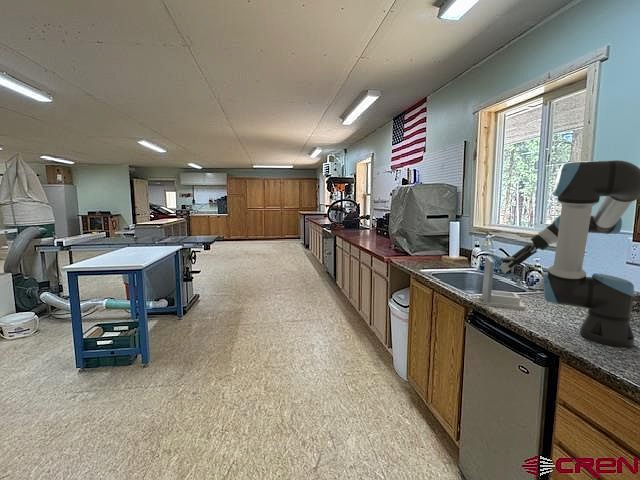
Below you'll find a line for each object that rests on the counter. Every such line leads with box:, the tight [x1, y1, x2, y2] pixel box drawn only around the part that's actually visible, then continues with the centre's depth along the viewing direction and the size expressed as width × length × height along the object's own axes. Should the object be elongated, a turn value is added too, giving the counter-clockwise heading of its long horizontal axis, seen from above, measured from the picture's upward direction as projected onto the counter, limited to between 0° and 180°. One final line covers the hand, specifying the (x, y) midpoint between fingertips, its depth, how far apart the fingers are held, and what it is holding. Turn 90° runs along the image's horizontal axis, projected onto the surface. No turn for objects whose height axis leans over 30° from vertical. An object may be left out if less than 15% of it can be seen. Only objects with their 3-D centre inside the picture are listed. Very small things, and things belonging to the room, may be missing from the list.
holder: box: [481, 256, 526, 311], centre depth 163 cm, size 18×16×22 cm
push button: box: [502, 256, 516, 279], centre depth 163 cm, size 7×5×10 cm
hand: (501, 270), depth 164 cm, fingers closed on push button, 5 cm apart
